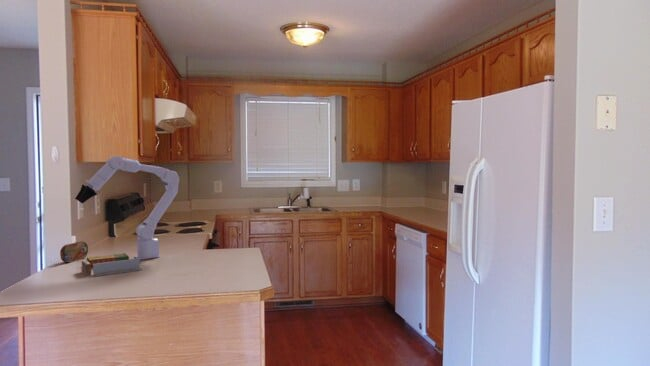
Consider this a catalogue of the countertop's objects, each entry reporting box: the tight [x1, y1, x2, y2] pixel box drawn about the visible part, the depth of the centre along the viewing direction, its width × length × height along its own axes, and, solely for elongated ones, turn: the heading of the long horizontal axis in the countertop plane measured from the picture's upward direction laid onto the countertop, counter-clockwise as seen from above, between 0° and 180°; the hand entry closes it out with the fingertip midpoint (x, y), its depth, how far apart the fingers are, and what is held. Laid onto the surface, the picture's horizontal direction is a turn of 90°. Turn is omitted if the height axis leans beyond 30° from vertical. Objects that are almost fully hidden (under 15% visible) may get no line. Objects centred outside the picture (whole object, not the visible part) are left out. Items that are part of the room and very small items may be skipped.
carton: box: [86, 252, 130, 270], centre depth 202 cm, size 8×16×4 cm, turn 125°
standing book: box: [81, 259, 92, 277], centre depth 186 cm, size 2×9×5 cm, turn 38°
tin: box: [59, 240, 89, 263], centre depth 210 cm, size 15×3×8 cm, turn 168°
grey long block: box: [92, 258, 143, 277], centre depth 188 cm, size 18×3×4 cm, turn 128°
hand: (78, 201), depth 199 cm, fingers open, 7 cm apart
